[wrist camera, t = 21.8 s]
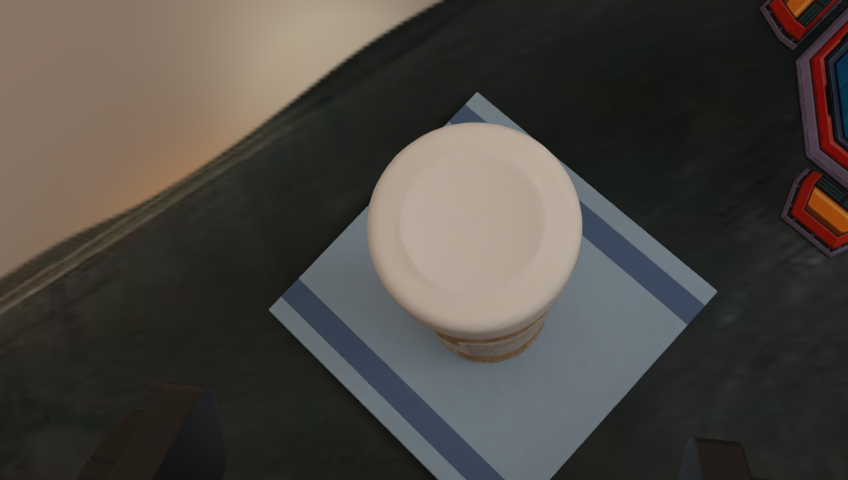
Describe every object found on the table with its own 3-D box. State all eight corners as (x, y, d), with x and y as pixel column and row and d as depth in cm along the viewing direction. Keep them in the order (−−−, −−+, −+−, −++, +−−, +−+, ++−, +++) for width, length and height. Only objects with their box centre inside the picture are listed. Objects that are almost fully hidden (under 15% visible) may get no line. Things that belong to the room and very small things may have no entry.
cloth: (715, 292, 28) (718, 291, 28) (496, 536, 27) (496, 538, 27) (477, 95, 31) (476, 91, 30) (271, 310, 30) (267, 309, 29)
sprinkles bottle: (415, 263, 29) (340, 148, 16) (530, 232, 29) (548, 89, 16) (445, 380, 28) (391, 358, 15) (564, 348, 28) (615, 298, 15)
